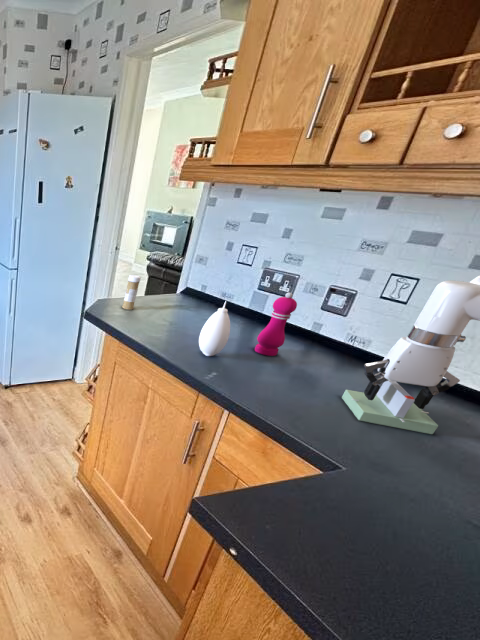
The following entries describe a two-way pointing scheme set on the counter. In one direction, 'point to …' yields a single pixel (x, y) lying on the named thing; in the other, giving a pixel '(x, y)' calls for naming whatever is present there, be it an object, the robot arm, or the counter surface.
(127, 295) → the sprinkles bottle
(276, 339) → the pepper mill
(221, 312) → the white air blower bulb
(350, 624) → the counter surface
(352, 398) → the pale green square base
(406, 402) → the white rectangular block
